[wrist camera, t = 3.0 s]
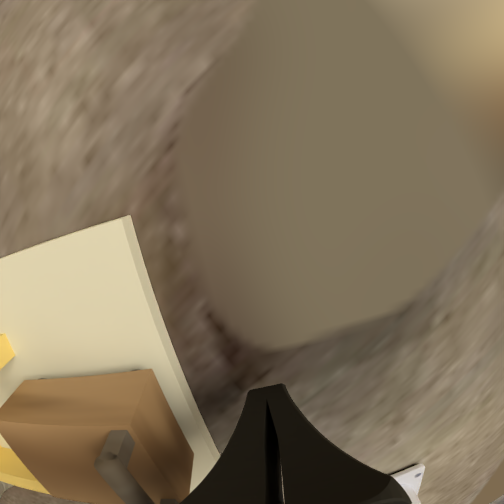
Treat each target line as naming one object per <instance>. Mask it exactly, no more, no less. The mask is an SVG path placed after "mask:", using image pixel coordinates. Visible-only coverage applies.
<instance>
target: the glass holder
mask: <svg viewBox="0 0 504 504" xmlns="http://www.w3.org/2000/svg"><path fill="white" fill-rule="evenodd" d="M12 486H13V485H12V484H8V483H5V482H2V481H0V498H1V496H2V494H3V493H4V492H5V491H6V490H7V489H9V488H11V487H12Z"/></svg>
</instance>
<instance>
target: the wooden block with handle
mask: <svg viewBox="0 0 504 504" xmlns="http://www.w3.org/2000/svg"><path fill="white" fill-rule="evenodd" d="M0 434H1V435H2V437H3V438H4V439H5V441H6V442H7V444H8V445H9V446H10V448H11V449H12V450H13V451H14V453H15V454H16V455H17V456H18V458H19V459H20V460H21V461H22V463H23V464H24V465H25V466H26V467H27V469H28V470H29V471H30V472H31V473H32V474H33V476H34V477H35V478H36V479H37V480H38V481H39V482H40V483H41V485H42V486H43V487H44V488H45V489H46V490H47V491H48V492H49V493H50V494H51V495H52V496H53V497H57V498H62V499H68V500H73V501H79V502H86V503H93V504H179V503H180V502H181V501H183V500H184V499H185V498H186V497H187V496H188V495H189V493H190V485H191V476H192V468H193V460H194V452H193V451H192V449H191V447H190V445H189V443H188V441H187V439H186V438H185V436H184V434H183V432H182V430H181V428H180V426H179V424H178V422H177V420H176V418H175V416H174V414H173V412H172V410H171V408H170V406H169V404H168V402H167V400H166V398H165V396H164V394H163V392H162V389H161V387H160V385H159V383H158V381H157V378H156V376H155V374H154V372H153V369H144V370H140V369H135V370H132V371H129V372H121V373H112V374H103V375H93V376H82V377H70V378H56V379H45V378H41V379H38V380H24V381H23V382H22V383H21V384H20V385H19V387H18V388H17V389H16V390H15V391H14V392H13V393H12V395H11V396H10V397H9V398H8V399H7V400H6V402H5V403H4V404H3V405H2V406H1V407H0Z"/></svg>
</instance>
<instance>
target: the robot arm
mask: <svg viewBox="0 0 504 504" xmlns="http://www.w3.org/2000/svg"><path fill="white" fill-rule="evenodd" d="M281 467H282V476H283V487H284V499H285V504H421V503H420V501H419V499H418V497H417V494H418V491H419V488H420V484H421V481H422V477H423V473H424V470H425V467H424V465H423V464H417V465H415V466H413V467H410V468H408V469H405V470H403V471H400V472H398V473H395V474H393V475H390V476H389V475H387V474H384V473H382V472H380V471H377V470H375V469H373V468H371V467H369V466H367V465H365V464H363V463H361V462H359V461H358V460H356V459H355V458H353V457H351V456H350V455H348V454H347V453H345V452H344V451H342V450H341V449H339V448H338V447H337V446H335V445H334V444H333V443H331V442H330V441H329V440H328V439H327V438H325V437H324V436H323V435H322V434H321V433H320V432H319V431H318V430H317V429H316V428H315V427H314V426H313V425H312V424H311V423H310V422H309V421H308V420H307V418H306V417H305V416H304V415H303V414H302V412H301V411H300V410H299V409H298V407H297V406H296V405H295V403H294V402H293V400H292V399H291V397H290V395H289V393H288V391H287V389H286V387H285V385H284V384H282V383H281V384H277V385H272V386H267V387H263V388H258V389H253V390H250V391H249V392H248V394H247V398H246V402H245V405H244V408H243V411H242V414H241V417H240V419H239V421H238V424H237V426H236V429H235V431H234V433H233V435H232V437H231V439H230V441H229V443H228V445H227V446H226V448H225V450H224V452H223V453H222V455H221V456H220V458H219V459H218V461H217V462H216V464H215V465H214V466H213V468H212V469H211V470H210V472H209V473H208V474H207V476H206V477H205V478H204V479H203V480H202V481H201V483H200V484H199V485H198V486H197V487H196V488H195V489H194V490H193V491H192V492H191V493H190V494H189V495H188V496H187V497H186V498H185V499H184V500H183V501H181V502H180V503H179V504H284V501H283V493H282V477H281ZM490 504H504V494H503V495H502V496H500V497H499V498H497V499H496V500H494V501H493V502H491V503H490Z"/></svg>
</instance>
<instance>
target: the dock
mask: <svg viewBox="0 0 504 504" xmlns="http://www.w3.org/2000/svg"><path fill="white" fill-rule="evenodd" d="M135 369H140V370H144V369H153V372H154V374H155V376H156V378H157V381H158V383H159V385H160V387H161V389H162V392H163V394H164V396H165V398H166V400H167V402H168V404H169V406H170V408H171V410H172V412H173V414H174V416H175V418H176V420H177V422H178V424H179V426H180V428H181V430H182V432H183V434H184V436H185V438H186V439H187V441H188V443H189V445H190V447H191V449H192V451H193V452H194V460H193V468H192V476H191V485H190V493H191V492H192V491H193V490H194V489H195V488H196V487H197V486H198V485H199V484H200V483H201V481H202V480H203V479H204V478H205V477H206V476H207V474H208V473H209V472H210V470H211V469H212V468H213V466H214V465H215V464H216V462H217V461H218V459H219V458H220V454H219V452H218V450H217V448H216V446H215V444H214V442H213V440H212V438H211V436H210V433H209V431H208V429H207V427H206V425H205V423H204V420H203V418H202V416H201V414H200V412H199V409H198V407H197V405H196V402H195V400H194V398H193V395H192V393H191V391H190V388H189V386H188V384H187V381H186V379H185V376H184V374H183V371H182V369H181V366H180V364H179V361H178V359H177V356H176V354H175V351H174V348H173V346H172V343H171V340H170V338H169V335H168V332H167V330H166V327H165V324H164V321H163V319H162V316H161V313H160V310H159V307H158V304H157V301H156V298H155V295H154V292H153V289H152V286H151V283H150V280H149V277H148V274H147V271H146V267H145V264H144V261H143V258H142V254H141V251H140V247H139V244H138V241H137V237H136V234H135V230H134V226H133V223H132V219H131V215H128V216H124V217H121V218H118V219H114V220H111V221H108V222H105V223H101V224H98V225H95V226H92V227H89V228H85V229H82V230H79V231H76V232H73V233H70V234H67V235H64V236H61V237H58V238H55V239H52V240H49V241H46V242H43V243H41V244H38V245H35V246H32V247H29V248H27V249H24V250H21V251H18V252H16V253H13V254H10V255H8V256H5V257H2V258H0V407H1V406H2V405H3V404H4V403H5V402H6V400H7V399H8V398H9V397H10V396H11V395H12V393H13V392H14V391H15V390H16V389H17V388H18V387H19V385H20V384H21V383H22V382H23V381H24V380H38V379H41V378H45V379H56V378H70V377H82V376H93V375H103V374H112V373H121V372H129V371H132V370H135ZM0 481H2V482H5V483H8V484H12V485H15V486H19V487H22V488H26V489H30V490H34V491H38V492H42V493H47V494H50V493H49V492H48V491H47V490H46V489H45V488H44V487H43V486H42V485H41V483H40V482H39V481H38V480H37V479H36V478H35V477H34V476H33V474H32V473H31V472H30V471H29V470H28V469H27V467H26V466H25V465H24V464H23V463H22V461H21V460H20V459H19V458H18V456H17V455H16V454H15V453H14V451H13V450H12V449H11V448H10V446H9V445H8V444H7V442H6V441H5V439H4V438H3V437H2V435H1V434H0ZM190 493H189V494H190Z"/></svg>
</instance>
